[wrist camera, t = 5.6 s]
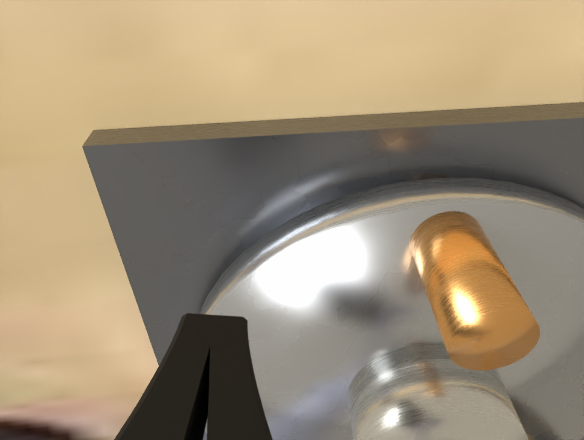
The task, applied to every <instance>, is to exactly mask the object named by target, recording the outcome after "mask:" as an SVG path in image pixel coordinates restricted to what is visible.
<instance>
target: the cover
mask: <svg viewBox="0 0 584 440" xmlns="http://www.w3.org/2000/svg"><path fill="white" fill-rule="evenodd" d="M347 399H348V406H349V413H350V421H351V428H352V435H353V440H528V437H527V435H526V433H525V430H524V428H523V426H522V424H521V422H520V419H519V417H518V415H517V413H516V410H515V408H514V406H513V404H512V402H511V399H510V397H509V395H508V393H507V390H506V388H505V386H504V384H503V381H502V379H501V377H500V375H499V373H498V370H497V369H492V370H470V369H466V368H463V367H460V366H458V365H457V364H455V363H454V362H453V361H452V360H451V359H450V357H449V355H448V352H447V350H446V347H445V344H444V343H425V344H417V345H412V346H407V347H404V348H400V349H397V350H394V351H391V352H389V353H386V354H384V355H382V356H380V357H378V358H376V359H375V360H373V361H371V362H370V363H369V364H367V365H366V366H365V367H363V368H362V369H361V370H360V371H359V372H358V373H357V374H356V376H355V377H354V378H353V380H352V382H351V384H350V386H349V389H348V394H347Z"/></svg>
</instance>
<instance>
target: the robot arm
mask: <svg viewBox="0 0 584 440" xmlns="http://www.w3.org/2000/svg"><path fill="white" fill-rule="evenodd" d="M206 423H207V440H273V439H272V436H271V433H270V430H269V427H268V423H267V420H266V417H265V413H264V409H263V406H262V402H261V398H260V395H259V391H258V387H257V383H256V379H255V374H254V369H253V364H252V359H251V354H250V347H249V339H248V321H247V320H246V319H245V318H244V317H240V316H224V315H209V314H193V313H186V314H185V315H183V316H182V317H181V320H180V322H179V325H178V328H177V330H176V332H175V335H174V337H173V339H172V341H171V344H170V346H169V348H168V350H167V352H166V354H165V356H164V358H163V359H162V361H161V363H160V365H159V367H158V369H157V371H156V373H155V374H154V376H153V378H152V379H151V381H150V383H149V385H148V386H147V388H146V390H145V392H144V393H143V395H142V397H141V399H140V400H139V402H138V404H137V405H136V407H135V408H134V410H133V412H132V413H131V415H130V416H129V418H128V419H127V421H126V422H125V424H124V425H123V427H122V428H121V430H120V432H119V433H118V435H117V436H116V438H115V439H114V440H203V437H204V432H205V427H206Z"/></svg>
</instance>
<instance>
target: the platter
mask: <svg viewBox="0 0 584 440" xmlns="http://www.w3.org/2000/svg"><path fill="white" fill-rule="evenodd" d="M199 314H209V315H224V316H240V317H244V318H245V319H246V320H247V321H248V339H249V347H250V354H251V359H252V364H253V369H254V374H255V379H256V383H257V387H258V391H259V395H260V398H261V402H262V406H263V409H264V413H265V417H266V420H267V423H268V427H269V430H270V433H271V436H272V439H273V440H353V435H352V428H351V421H350V413H349V406H348V399H347V394H348V389H349V386H350V384H351V382H352V380H353V378H354V377H355V376H356V374H357V373H358V372H359V371H360V370H361V369H362V368H363V367H365V366H366V365H367V364H369V363H370V362H371V361H373V360H375V359H376V358H378V357H380V356H382V355H384V354H386V353H389V352H391V351H394V350H397V349H400V348H404V347H407V346H412V345H417V344H425V343H444V344H445V347H446V350H447V352H448V355H449V357H450V359H451V360H452V361H453V362H454V363H455V364H457V365H458V366H460V367H463V368H466V369H470V370H492V369H497V370H498V373H499V375H500V377H501V379H502V381H503V384H504V386H505V388H506V390H507V393H508V395H509V397H510V399H511V402H512V404H513V406H514V408H515V410H516V413H517V415H518V417H519V419H520V422H521V424H522V426H523V428H524V430H525V433H526V435H527V437H528V440H580V439H582V438H583V437H584V209H582V208H581V207H579V206H577V205H576V204H574V203H573V202H571V201H568V200H566V199H563V198H561V197H559V196H556V195H554V194H551V193H549V192H547V191H544V190H541V189H537V188H533V187H529V186H525V185H521V184H517V183H513V182H507V181H498V180H490V179H481V178H431V179H422V180H413V181H404V182H397V183H393V184H388V185H383V186H379V187H374V188H370V189H365V190H361V191H358V192H355V193H352V194H349V195H346V196H343V197H340V198H337V199H334V200H331V201H329V202H326V203H323V204H321V205H319V206H317V207H315V208H313V209H311V210H308V211H306V212H304V213H302V214H300V215H298V216H296V217H293V218H292V219H290V220H288V221H287V222H285V223H284V224H282V225H280V226H279V227H277V228H275V229H274V230H272V231H271V232H269V233H267V234H266V235H264V236H263V237H262V238H261V239H259V240H258V241H257V242H256V243H254V244H253V245H252V246H251V247H249V248H248V249H247V250H246V251H244V252H243V253H242V254H241V255H240V256H239V257H238V258H237V259H236V260H235V261H234V262H233V263H232V264H231V265H230V266H229V267H228V268H227V270H226V271H225V272H224V273H223V274H222V275H221V276H220V278H219V279H218V281H217V282H216V284H215V285H214V287H213V288H212V289H211V291H210V292H209V294H208V295H207V298H206V300H205V302H204V304H203V306H202V308H201V311H200V313H199ZM205 432H206V434H207V423H206V427H205Z"/></svg>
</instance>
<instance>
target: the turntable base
mask: <svg viewBox="0 0 584 440" xmlns="http://www.w3.org/2000/svg"><path fill="white" fill-rule="evenodd" d="M82 147H83V150H84V153H85V155H86V158H87V161H88V164H89V167H90V170H91V173H92V176H93V178H94V181H95V184H96V187H97V190H98V193H99V196H100V198H101V201H102V204H103V207H104V210H105V213H106V216H107V218H108V221H109V224H110V227H111V230H112V233H113V236H114V239H115V241H116V244H117V247H118V250H119V253H120V256H121V259H122V261H123V264H124V267H125V270H126V273H127V276H128V279H129V281H130V284H131V287H132V290H133V293H134V296H135V299H136V302H137V304H138V307H139V310H140V313H141V316H142V319H143V322H144V324H145V327H146V330H147V333H148V336H149V339H150V342H151V345H152V347H153V350H154V353H155V356H156V359H157V362H158V365H160V363H161V361H162V359H163V358H164V356H165V354H166V352H167V350H168V348H169V346H170V344H171V341H172V339H173V337H174V335H175V332H176V330H177V328H178V325H179V322H180V320H181V317H182V316H183V315H185V314H186V313H193V314H199V313H200V311H201V308H202V306H203V304H204V302H205V300H206V298H207V295H208V294H209V292H210V291H211V289H212V288H213V287H214V285H215V284H216V282H217V281H218V279H219V278H220V276H221V275H222V274H223V273H224V272H225V271H226V270H227V268H228V267H229V266H230V265H231V264H232V263H233V262H234V261H235V260H236V259H237V258H238V257H239V256H240V255H241V254H242V253H243V252H244V251H246V250H247V249H248V248H249V247H251V246H252V245H253V244H254V243H256V242H257V241H258V240H259V239H261V238H262V237H263V236H264V235H266V234H267V233H269V232H271V231H272V230H274V229H275V228H277V227H279V226H280V225H282V224H284V223H285V222H287V221H288V220H290V219H292V218H293V217H296V216H298V215H300V214H302V213H304V212H306V211H308V210H311V209H313V208H315V207H317V206H319V205H321V204H323V203H326V202H329V201H331V200H334V199H337V198H340V197H343V196H346V195H349V194H352V193H355V192H358V191H361V190H365V189H370V188H374V187H379V186H383V185H388V184H393V183H397V182H404V181H413V180H422V179H431V178H481V179H490V180H498V181H507V182H513V183H517V184H521V185H525V186H529V187H533V188H537V189H541V190H544V191H547V192H549V193H551V194H554V195H556V196H559V197H561V198H563V199H566V200H568V201H571V202H573V203H574V204H576V205H577V206H579V207H581V208H582V209H584V102H583V103H566V104H548V105H530V106H513V107H495V108H478V109H460V110H443V111H425V112H407V113H390V114H372V115H355V116H337V117H319V118H302V119H284V120H267V121H249V122H232V123H214V124H196V125H179V126H161V127H144V128H126V129H109V130H93V132H92V133H91V135H90V136H89V137H88V139H87V140H86V142H85V143H84V144H83V146H82ZM203 440H207V434H206V432H204V437H203ZM580 440H584V437H583V438H582V439H580Z"/></svg>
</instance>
